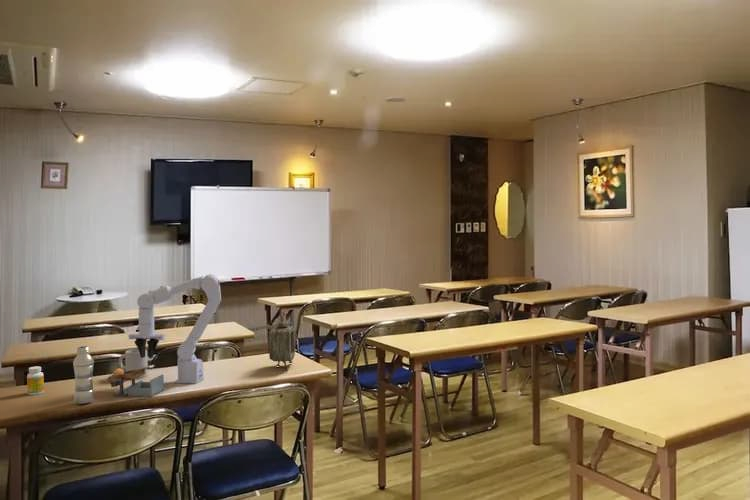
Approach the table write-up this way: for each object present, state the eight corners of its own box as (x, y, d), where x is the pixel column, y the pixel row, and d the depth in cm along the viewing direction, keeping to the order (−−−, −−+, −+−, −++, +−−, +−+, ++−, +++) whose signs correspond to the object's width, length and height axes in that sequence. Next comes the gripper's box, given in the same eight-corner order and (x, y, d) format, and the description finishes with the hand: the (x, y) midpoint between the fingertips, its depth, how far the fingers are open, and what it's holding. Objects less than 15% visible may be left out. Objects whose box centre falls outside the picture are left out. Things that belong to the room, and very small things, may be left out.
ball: (126, 375, 218) (124, 366, 218) (121, 378, 215) (119, 368, 215) (118, 377, 219) (116, 368, 219) (112, 380, 215) (110, 370, 215)
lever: (156, 374, 226) (154, 364, 226) (137, 383, 212) (135, 372, 212) (130, 378, 227) (128, 368, 227) (110, 387, 214) (108, 377, 214)
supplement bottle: (32, 395, 214) (31, 370, 214) (24, 393, 217) (23, 368, 216) (46, 392, 219) (46, 366, 218) (39, 390, 221) (38, 365, 221)
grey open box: (163, 390, 219) (163, 374, 219) (151, 396, 211) (151, 380, 210) (141, 389, 221) (140, 373, 220) (128, 396, 212) (127, 380, 212)
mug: (151, 374, 243) (151, 348, 243) (141, 379, 235) (140, 353, 235) (125, 373, 245) (124, 348, 245) (113, 379, 237) (112, 352, 236)
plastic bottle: (78, 400, 207) (76, 345, 206) (98, 400, 207) (96, 345, 207) (70, 406, 200) (68, 349, 200) (90, 405, 201) (89, 348, 200)
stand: (141, 388, 222) (141, 371, 221) (125, 396, 211) (125, 378, 211) (129, 388, 222) (129, 371, 222) (113, 396, 212) (112, 378, 211)
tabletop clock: (290, 371, 245) (289, 313, 244) (269, 371, 246) (267, 313, 245) (295, 363, 260) (294, 308, 259) (275, 363, 260) (274, 308, 259)
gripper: (123, 324, 226) (124, 359, 226) (158, 325, 224) (159, 360, 224) (133, 321, 233) (134, 355, 233) (167, 322, 230) (168, 356, 231)
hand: (147, 357), depth 229 cm, fingers open, 3 cm apart
